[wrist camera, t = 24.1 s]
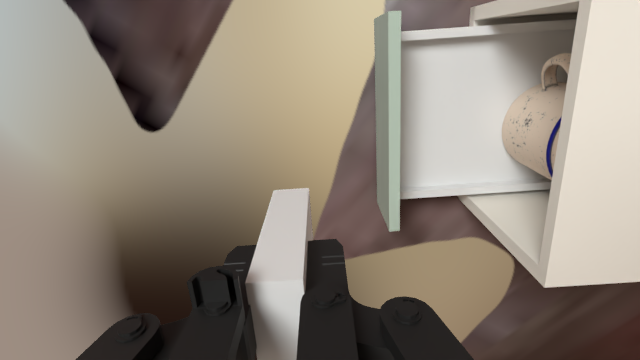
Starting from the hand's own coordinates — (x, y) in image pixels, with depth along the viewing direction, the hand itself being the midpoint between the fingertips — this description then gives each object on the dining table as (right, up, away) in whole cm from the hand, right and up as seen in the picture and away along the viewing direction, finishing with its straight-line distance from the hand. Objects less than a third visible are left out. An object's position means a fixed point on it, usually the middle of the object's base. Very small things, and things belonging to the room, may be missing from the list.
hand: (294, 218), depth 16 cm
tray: (+19, +9, +23) cm, 31 cm away
